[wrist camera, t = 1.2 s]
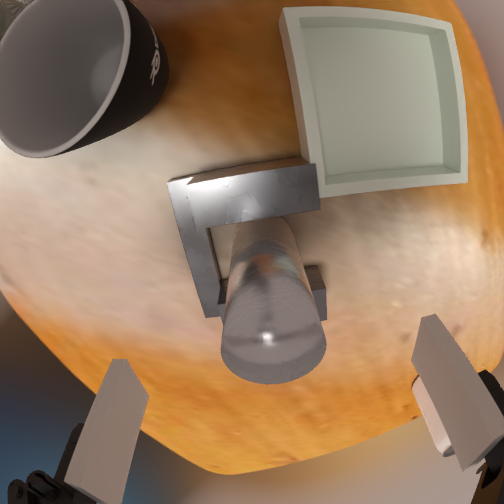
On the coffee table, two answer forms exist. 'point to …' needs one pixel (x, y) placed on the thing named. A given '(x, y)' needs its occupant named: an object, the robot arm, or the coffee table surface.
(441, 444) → the can
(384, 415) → the coffee table surface
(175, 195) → the hitch clevis
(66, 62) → the mug
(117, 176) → the coffee table surface
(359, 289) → the coffee table surface
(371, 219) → the coffee table surface
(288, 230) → the pin
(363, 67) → the tray
